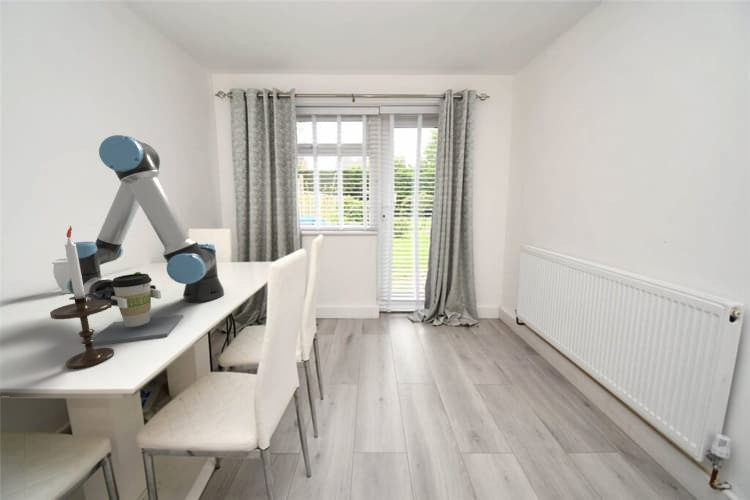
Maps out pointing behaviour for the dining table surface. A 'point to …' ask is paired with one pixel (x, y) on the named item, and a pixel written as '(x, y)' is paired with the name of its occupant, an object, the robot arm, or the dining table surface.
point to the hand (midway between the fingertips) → (143, 298)
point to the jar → (62, 273)
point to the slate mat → (137, 330)
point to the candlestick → (82, 314)
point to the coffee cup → (134, 298)
